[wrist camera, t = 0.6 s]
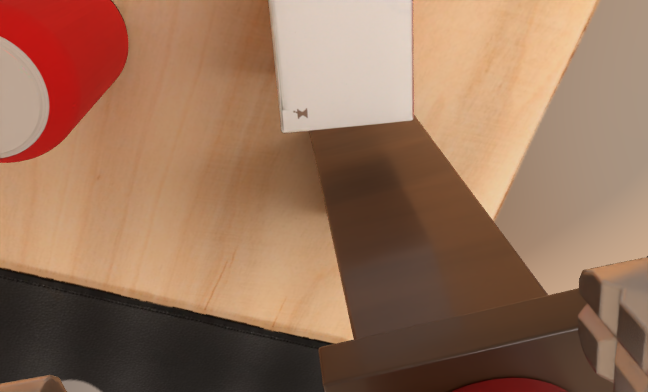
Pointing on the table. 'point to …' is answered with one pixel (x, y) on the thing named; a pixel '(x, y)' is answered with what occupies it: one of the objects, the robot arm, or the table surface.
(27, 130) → the beverage can
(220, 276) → the table surface
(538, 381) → the soda can
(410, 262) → the walnut stand
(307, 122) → the small box
